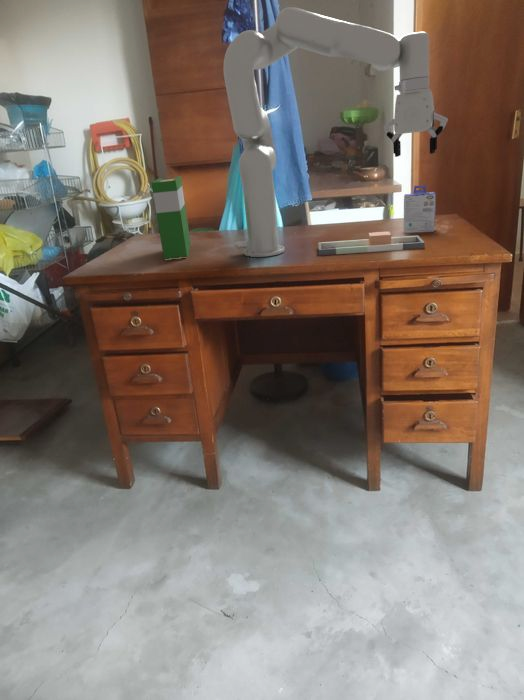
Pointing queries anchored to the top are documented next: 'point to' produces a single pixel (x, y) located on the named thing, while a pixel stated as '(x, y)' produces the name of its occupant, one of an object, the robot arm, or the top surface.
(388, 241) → the terracotta block
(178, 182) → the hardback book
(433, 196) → the ink cartridge box
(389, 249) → the track
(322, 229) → the top surface
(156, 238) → the top surface
